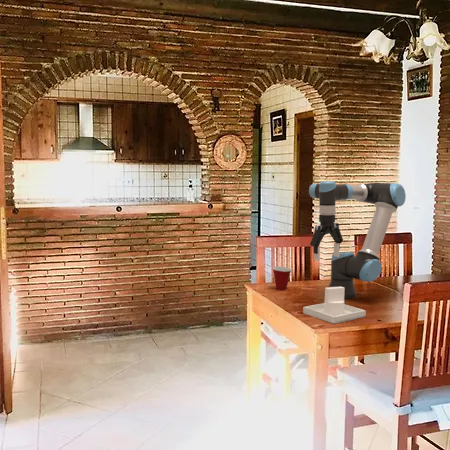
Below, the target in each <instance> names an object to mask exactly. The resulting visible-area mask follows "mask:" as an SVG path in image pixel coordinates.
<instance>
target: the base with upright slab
mask: <svg viewBox="0 0 450 450" xmlns="http://www.w3.org/2000/svg"><path fill="white" fill-rule="evenodd" d="M344 291H345V288H344V287H329V286H328V287H324V301H323V303H324V313H326V314H329V315H332V316H338V315H343V314H344V304H345V298H344Z"/></svg>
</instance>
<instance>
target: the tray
mask: <svg viewBox="0 0 450 450" xmlns="http://www.w3.org/2000/svg"><path fill="white" fill-rule="evenodd" d="M302 310H303V311H302V313H303V314H305V315H307V316H311V317H313V318H316V319H319V320H322V321H325V322H328V323H331V324H334V325H335V324H340V323H344V322H349V321H354V320H357V319H358V318H359V319H362V318H366V314H367V311H366V309H362V308H358V307H355V306H352V305H348V304H345V303H344V314H343V315H338V316H332V315H329V314H326V313H324V302H323V303H317V304H312V305H307V306H303V309H302Z"/></svg>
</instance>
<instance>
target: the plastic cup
mask: <svg viewBox="0 0 450 450" xmlns="http://www.w3.org/2000/svg"><path fill="white" fill-rule="evenodd" d="M272 270H273V277H274V284H275V288H276V290H277V289H278V291H286V290H287V287H288V283H289V279H290V274H291V272H292V271H293V269H292V268H290V267H286V266H273V267H272ZM285 289H286V290H285Z"/></svg>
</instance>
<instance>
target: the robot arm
mask: <svg viewBox="0 0 450 450" xmlns="http://www.w3.org/2000/svg"><path fill="white" fill-rule="evenodd" d="M308 194H309V196H310V198H312V199H316V200H319V201H318V202H319V203H318V206H319V208H318V213H319V215H318V222H319V224H320V225H318V224H316V225H314V226H315V228H314V231H313V235H312V238H311V240H310V243H309V245H310V246H312V247H313V256H314V257H313V260H314V261H318V262H319V261H321V260H320V258H321V257H320V256H321V253H320V251H321V250H320V249H321V248H320V244H321V242H322V240H323V239H324V237H325V236H326V235H328V234H329V235H330V236H331V238H332V240H333V241H334V243H333V253H332V255H331V260H330V262H331V263H330V282H329V286H328V287H344V288H345V291H344V299H354V298H356V296H357V290H356V288H355V282H354V279H355V280H358V281H359V280H360V281H362V282H368V283H369V282H370V283H371V282H374V281H376V280H378V278H379V276H380V275H381V273H382V262H381V261H380V260H381V258H380V256H379V253H380V251H381V248H382V244H383V242H384V239H385V236H386V233H387V231H388V230H387V229H388V227H389V225H390V222H391V218H392V215H393V214H395V213H396V212H397V210H398V208H399V207H402V206H403V205H404V204H405V202H406V195H407V194H406V191H405V188H404V187H403V185H402V184H401V183H396V182H369V183H368V182H367V183H359V184H356V185H354V184H347V183H341V184H338V183H336V181H333V180H326V181H325V180H323V181H320V182H319V183H318V182H317V183H312V184H311V185H310V186H309V189H308ZM347 200H355V202H359V203H360V202H361V203H362V202H363V203H368V204H373V205H374V207H375V211H374V214H373V216H372V219H371V221H370V225H369V228H368V231H367V232H366V233H367V234H366V236H365V239H364V242H363V245H362V246H361V249H359V250H358V251H357V252H356V255H355V252H353V251H344V252H343V251H342V252H340V249H341V248H340V247H341V245H340V244H342V242H343V241H344V239H343V236H342V233H341V229H340V225H339V222H336V215H335V214H336V201H347Z"/></svg>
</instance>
